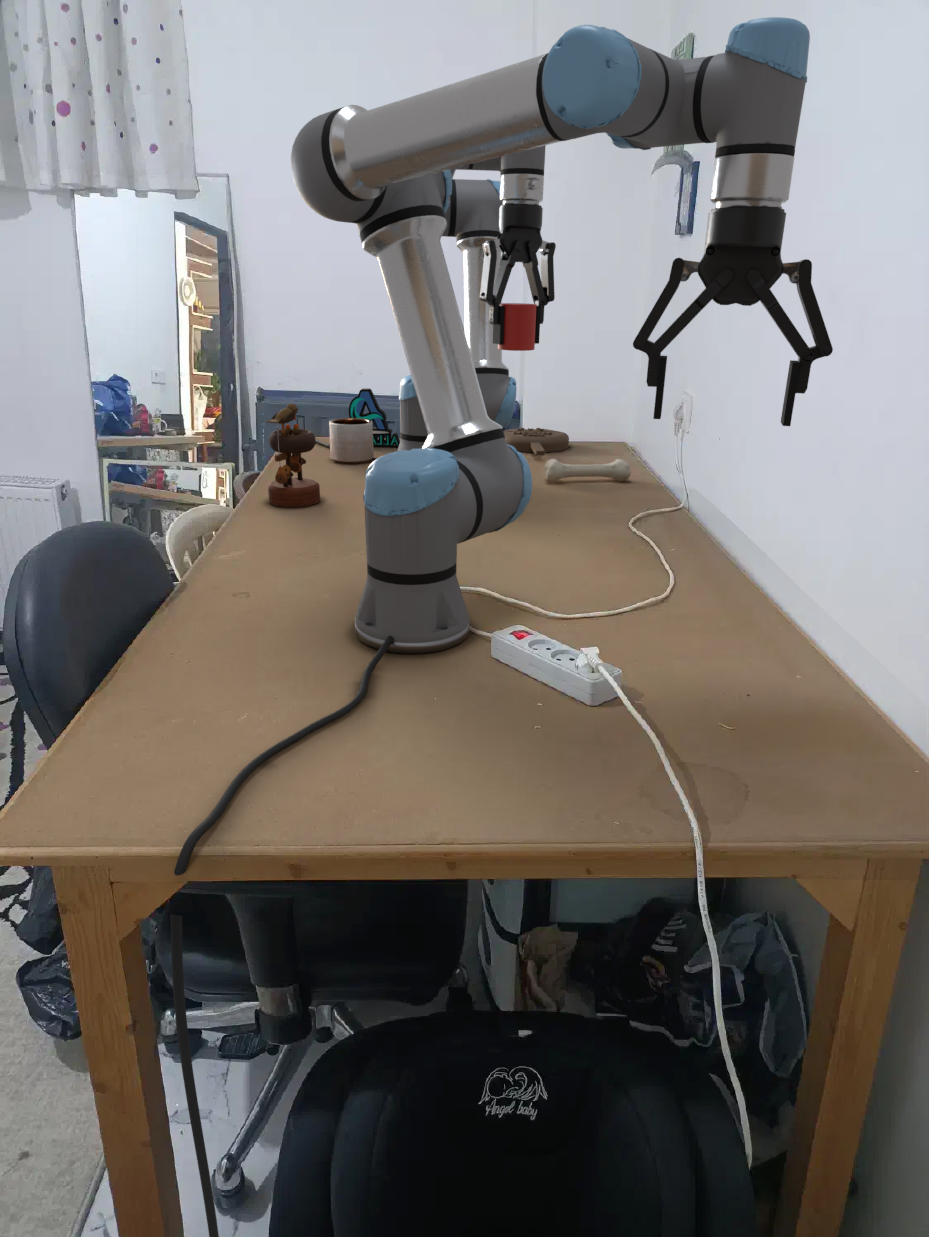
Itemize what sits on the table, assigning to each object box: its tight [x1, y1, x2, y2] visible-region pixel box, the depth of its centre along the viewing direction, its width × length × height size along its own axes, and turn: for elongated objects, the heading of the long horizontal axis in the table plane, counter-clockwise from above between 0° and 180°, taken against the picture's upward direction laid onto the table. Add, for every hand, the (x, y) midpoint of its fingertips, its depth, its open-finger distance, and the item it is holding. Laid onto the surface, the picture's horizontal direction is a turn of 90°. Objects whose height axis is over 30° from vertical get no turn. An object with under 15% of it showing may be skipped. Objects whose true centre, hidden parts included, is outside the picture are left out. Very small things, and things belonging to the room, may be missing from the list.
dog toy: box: [543, 458, 632, 482], centre depth 196 cm, size 20×6×5 cm, turn 99°
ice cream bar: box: [503, 427, 570, 457], centre depth 228 cm, size 21×28×4 cm
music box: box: [266, 403, 321, 508], centre depth 172 cm, size 15×11×20 cm
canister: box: [498, 302, 536, 352], centre depth 154 cm, size 7×7×8 cm
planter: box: [328, 417, 375, 464], centre depth 212 cm, size 11×11×10 cm
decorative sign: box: [348, 387, 400, 448], centre depth 229 cm, size 19×2×15 cm, turn 86°
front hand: (720, 421), depth 93 cm, fingers open, 13 cm apart
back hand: (515, 343), depth 155 cm, fingers closed on canister, 7 cm apart
